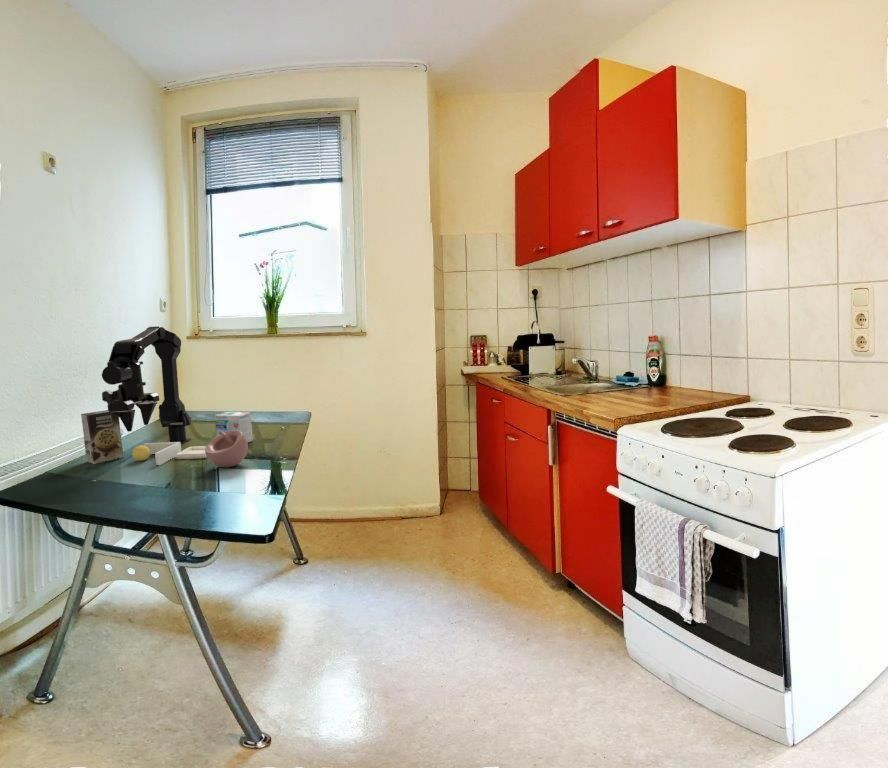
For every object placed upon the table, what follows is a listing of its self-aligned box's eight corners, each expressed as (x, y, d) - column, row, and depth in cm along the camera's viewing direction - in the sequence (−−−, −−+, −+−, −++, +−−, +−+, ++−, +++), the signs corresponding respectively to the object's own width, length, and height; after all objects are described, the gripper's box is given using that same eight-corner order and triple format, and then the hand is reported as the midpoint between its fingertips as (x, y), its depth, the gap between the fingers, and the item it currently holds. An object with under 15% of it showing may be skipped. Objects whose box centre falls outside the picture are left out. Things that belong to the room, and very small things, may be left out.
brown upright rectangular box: (93, 464, 167) (87, 415, 165) (86, 461, 171) (79, 413, 169) (124, 457, 174) (118, 410, 172) (116, 455, 178) (110, 408, 176)
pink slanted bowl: (198, 470, 156) (194, 432, 154) (231, 459, 166) (227, 424, 165) (225, 474, 150) (221, 435, 149) (258, 463, 161) (254, 426, 159)
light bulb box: (216, 444, 188) (213, 414, 187) (229, 439, 195) (226, 411, 193) (241, 445, 185) (238, 415, 184) (253, 440, 192) (251, 411, 190)
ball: (139, 458, 172) (137, 444, 171) (154, 458, 172) (152, 443, 171) (129, 463, 167) (128, 447, 166) (145, 462, 167) (143, 447, 166)
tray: (190, 451, 179) (190, 446, 179) (219, 450, 179) (219, 445, 179) (175, 459, 169) (175, 454, 169) (206, 458, 169) (205, 453, 169)
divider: (146, 454, 177) (144, 443, 176) (182, 453, 177) (181, 441, 176) (119, 467, 163) (117, 454, 162) (158, 465, 162) (157, 453, 162)
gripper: (124, 377, 175) (130, 422, 177) (86, 385, 157) (94, 436, 159) (157, 376, 175) (162, 421, 177) (123, 384, 157) (130, 434, 159)
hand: (138, 428), depth 168 cm, fingers open, 9 cm apart
